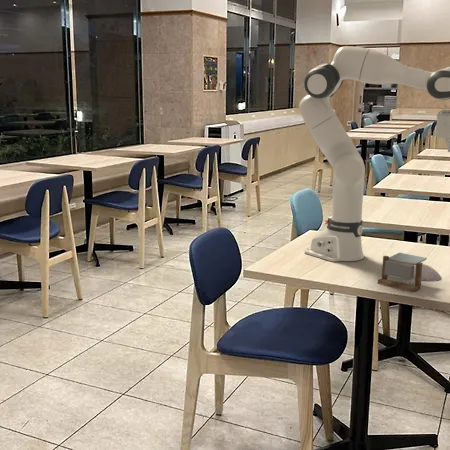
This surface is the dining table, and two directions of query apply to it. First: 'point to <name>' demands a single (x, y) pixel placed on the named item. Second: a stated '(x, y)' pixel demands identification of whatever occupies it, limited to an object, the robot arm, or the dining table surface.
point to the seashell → (428, 273)
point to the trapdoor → (402, 265)
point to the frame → (400, 285)
